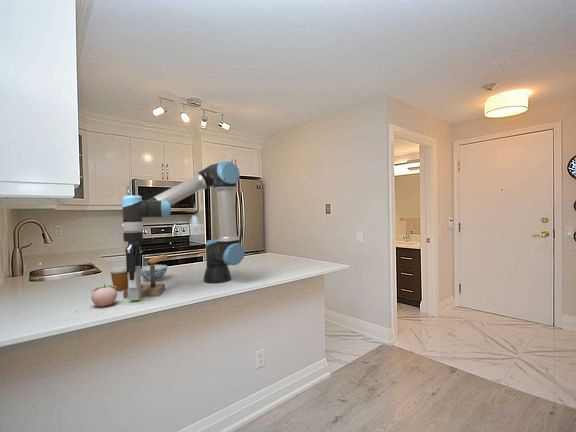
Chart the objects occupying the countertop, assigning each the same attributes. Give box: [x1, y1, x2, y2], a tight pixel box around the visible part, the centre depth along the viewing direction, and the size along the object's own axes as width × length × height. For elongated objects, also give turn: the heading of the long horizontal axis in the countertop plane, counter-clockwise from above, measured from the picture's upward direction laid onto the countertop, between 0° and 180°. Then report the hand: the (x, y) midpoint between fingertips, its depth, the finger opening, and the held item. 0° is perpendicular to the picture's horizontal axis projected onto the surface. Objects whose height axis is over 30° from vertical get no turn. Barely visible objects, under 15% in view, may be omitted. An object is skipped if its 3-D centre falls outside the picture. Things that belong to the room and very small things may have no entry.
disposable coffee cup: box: [109, 265, 128, 292], centre depth 151 cm, size 10×10×12 cm
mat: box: [120, 297, 149, 306], centre depth 131 cm, size 9×9×1 cm
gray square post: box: [127, 266, 142, 301], centre depth 131 cm, size 4×4×14 cm
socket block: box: [122, 263, 166, 299], centre depth 143 cm, size 15×12×15 cm
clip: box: [148, 254, 168, 264], centre depth 150 cm, size 15×3×2 cm, turn 179°
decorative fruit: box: [90, 283, 118, 308], centre depth 125 cm, size 9×8×10 cm
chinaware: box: [140, 264, 168, 283], centre depth 174 cm, size 15×15×8 cm
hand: (134, 285), depth 131 cm, fingers open, 4 cm apart
